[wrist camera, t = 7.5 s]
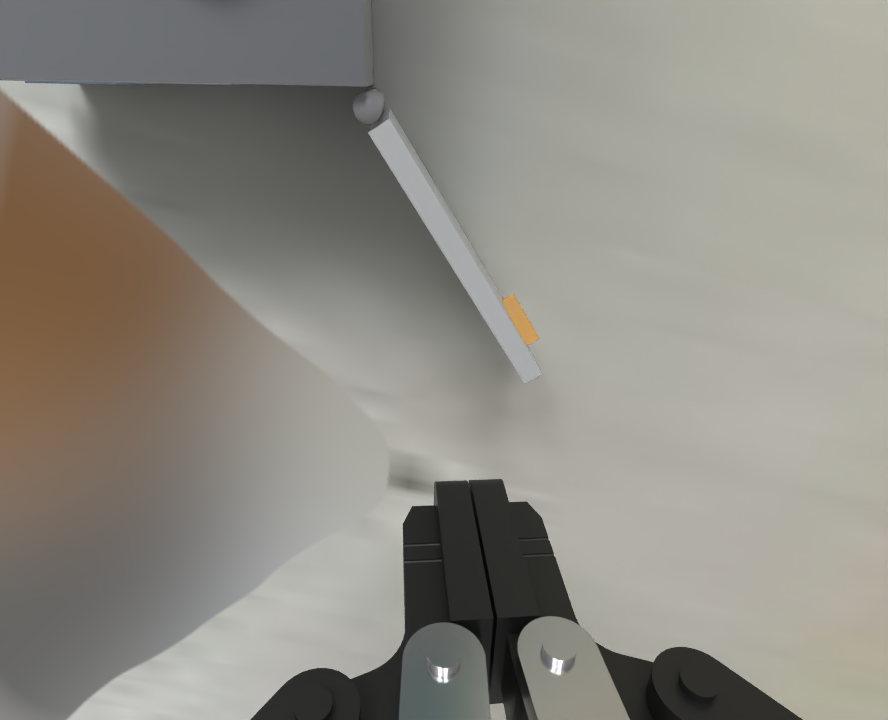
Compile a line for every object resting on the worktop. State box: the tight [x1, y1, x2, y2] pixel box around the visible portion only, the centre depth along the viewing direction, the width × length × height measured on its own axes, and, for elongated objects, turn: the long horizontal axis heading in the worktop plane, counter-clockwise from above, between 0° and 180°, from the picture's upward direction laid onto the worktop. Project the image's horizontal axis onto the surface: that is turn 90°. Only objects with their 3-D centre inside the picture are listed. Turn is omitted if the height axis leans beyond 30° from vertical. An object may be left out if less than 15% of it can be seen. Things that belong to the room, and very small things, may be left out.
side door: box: [353, 89, 542, 384], centre depth 23 cm, size 2×12×7 cm, turn 31°
